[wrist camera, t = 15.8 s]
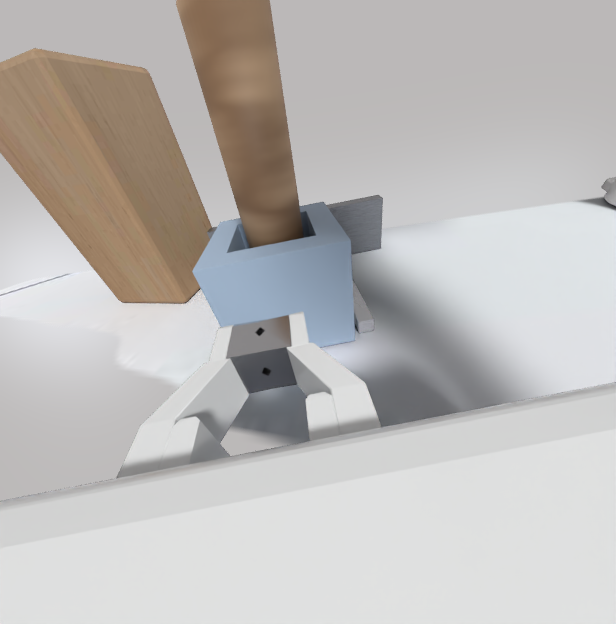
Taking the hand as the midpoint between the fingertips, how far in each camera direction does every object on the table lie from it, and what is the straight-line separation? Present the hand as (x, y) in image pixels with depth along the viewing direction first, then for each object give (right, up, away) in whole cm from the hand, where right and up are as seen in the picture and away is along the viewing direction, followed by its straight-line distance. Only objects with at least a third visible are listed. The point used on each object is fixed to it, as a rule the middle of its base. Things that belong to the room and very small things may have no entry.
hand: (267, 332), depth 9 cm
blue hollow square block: (0, 0, +13) cm, 13 cm away
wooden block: (-16, +5, +23) cm, 29 cm away
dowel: (0, +2, +12) cm, 12 cm away
